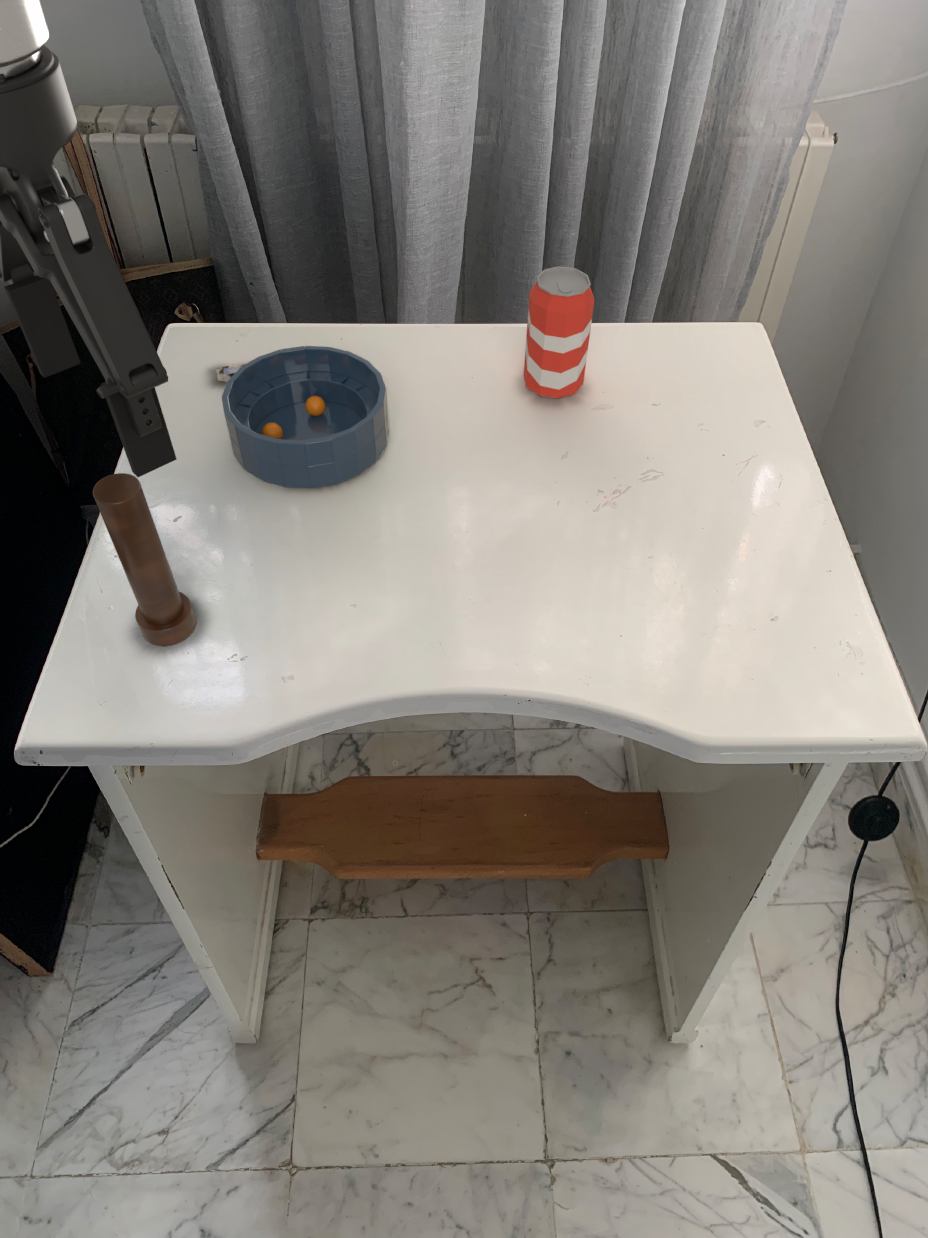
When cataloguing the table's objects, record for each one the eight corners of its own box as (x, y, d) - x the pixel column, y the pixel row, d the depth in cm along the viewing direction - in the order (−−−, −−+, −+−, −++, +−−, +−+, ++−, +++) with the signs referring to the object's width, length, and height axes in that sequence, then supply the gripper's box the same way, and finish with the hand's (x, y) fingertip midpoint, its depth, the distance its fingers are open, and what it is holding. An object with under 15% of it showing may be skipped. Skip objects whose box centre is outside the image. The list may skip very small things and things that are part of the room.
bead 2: (305, 419, 89) (302, 403, 88) (308, 407, 91) (305, 391, 89) (324, 420, 89) (322, 404, 88) (327, 408, 91) (325, 391, 89)
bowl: (218, 491, 84) (205, 440, 79) (251, 393, 93) (241, 343, 89) (380, 497, 83) (375, 447, 79) (395, 398, 93) (393, 348, 88)
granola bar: (279, 364, 97) (278, 356, 96) (281, 377, 96) (280, 368, 95) (216, 372, 96) (214, 364, 95) (218, 385, 94) (216, 377, 94)
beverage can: (528, 404, 93) (537, 299, 83) (520, 369, 97) (527, 264, 87) (586, 402, 93) (601, 296, 84) (575, 366, 97) (588, 261, 88)
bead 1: (261, 447, 86) (258, 430, 85) (265, 434, 88) (262, 417, 86) (282, 448, 86) (279, 431, 85) (285, 435, 88) (282, 418, 86)
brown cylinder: (134, 645, 72) (74, 508, 60) (149, 604, 75) (94, 465, 63) (189, 647, 72) (138, 511, 60) (202, 606, 74) (156, 468, 63)
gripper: (171, 116, 39) (254, 485, 55) (-47, -22, 51) (75, 315, 67) (2, 165, 35) (143, 541, 52) (-188, 5, 47) (-24, 352, 64)
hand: (105, 414), depth 59 cm, fingers open, 13 cm apart
